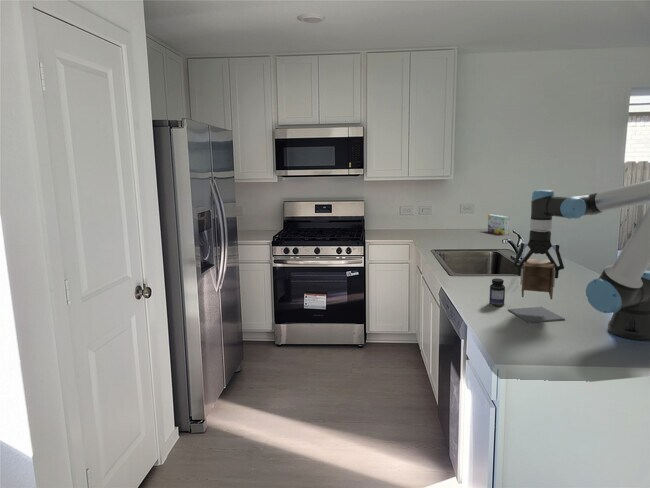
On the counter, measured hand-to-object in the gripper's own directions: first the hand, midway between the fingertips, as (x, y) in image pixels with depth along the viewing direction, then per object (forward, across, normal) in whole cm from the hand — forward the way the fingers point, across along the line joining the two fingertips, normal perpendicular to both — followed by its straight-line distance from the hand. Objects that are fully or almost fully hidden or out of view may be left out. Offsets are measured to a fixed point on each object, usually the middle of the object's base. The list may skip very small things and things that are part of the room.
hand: (536, 284), depth 180 cm
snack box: (+14, +22, -211) cm, 213 cm away
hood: (+4, 0, 0) cm, 4 cm away
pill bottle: (+13, +15, -10) cm, 22 cm away
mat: (+12, 0, 0) cm, 12 cm away
